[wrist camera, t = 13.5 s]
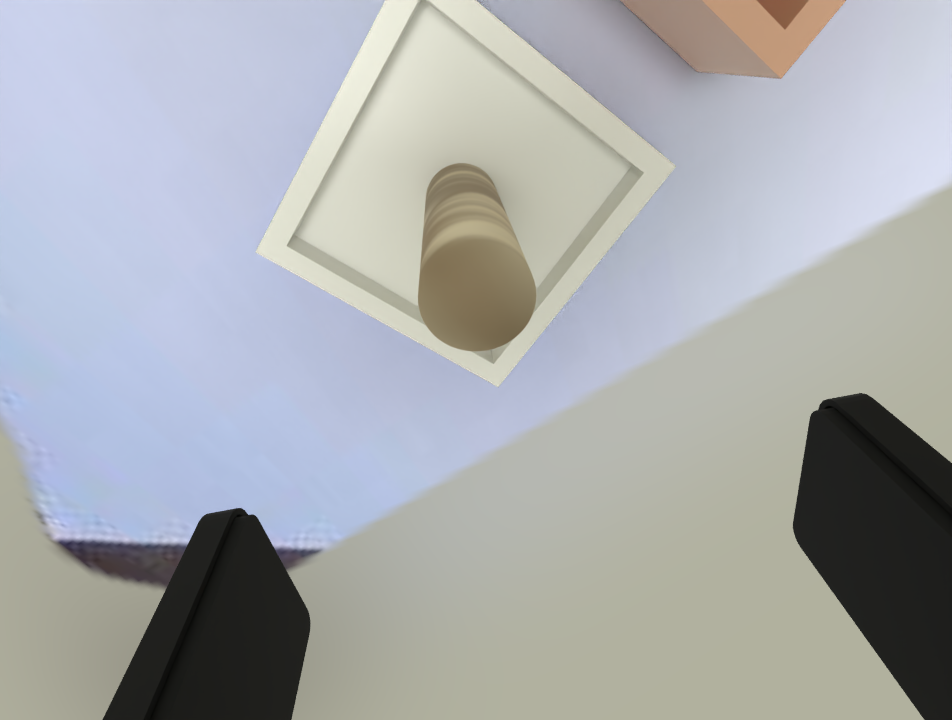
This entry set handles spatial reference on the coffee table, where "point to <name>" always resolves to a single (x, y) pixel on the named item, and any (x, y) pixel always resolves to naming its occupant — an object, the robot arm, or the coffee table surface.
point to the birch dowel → (471, 264)
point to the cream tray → (450, 142)
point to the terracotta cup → (737, 31)
